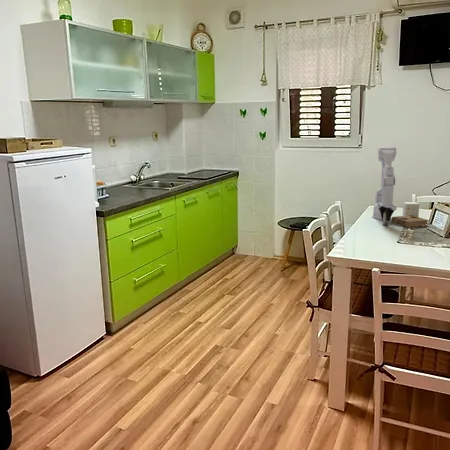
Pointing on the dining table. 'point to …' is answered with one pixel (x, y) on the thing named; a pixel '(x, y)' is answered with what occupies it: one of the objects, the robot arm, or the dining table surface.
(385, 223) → the pin
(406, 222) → the board
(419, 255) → the dining table surface
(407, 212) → the small box
